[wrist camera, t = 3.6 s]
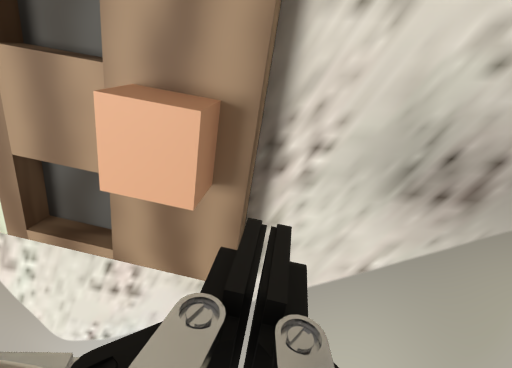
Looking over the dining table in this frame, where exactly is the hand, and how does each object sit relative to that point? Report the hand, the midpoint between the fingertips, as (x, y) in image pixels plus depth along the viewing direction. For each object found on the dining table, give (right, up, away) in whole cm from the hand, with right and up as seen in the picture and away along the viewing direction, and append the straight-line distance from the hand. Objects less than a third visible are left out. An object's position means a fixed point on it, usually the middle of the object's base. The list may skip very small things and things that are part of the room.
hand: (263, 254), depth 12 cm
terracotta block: (-6, +6, +9) cm, 13 cm away
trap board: (-13, +9, +13) cm, 20 cm away
